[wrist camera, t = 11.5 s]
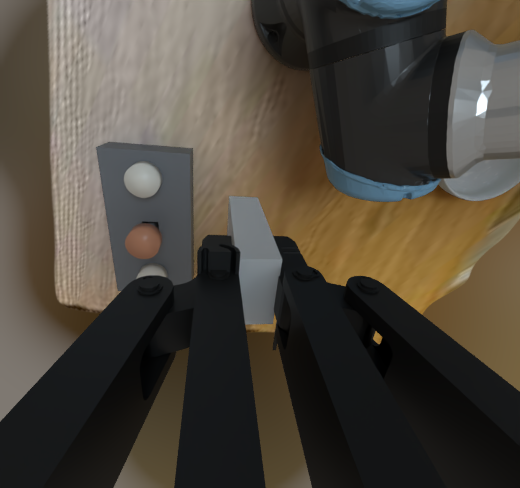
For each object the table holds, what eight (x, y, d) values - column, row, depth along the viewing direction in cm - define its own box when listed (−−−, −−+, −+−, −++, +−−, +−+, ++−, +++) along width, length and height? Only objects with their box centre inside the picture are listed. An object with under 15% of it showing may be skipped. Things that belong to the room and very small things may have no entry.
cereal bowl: (526, 90, 47) (574, 89, 40) (485, 190, 54) (520, 202, 48) (432, 83, 44) (467, 80, 38) (402, 188, 52) (427, 201, 45)
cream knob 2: (171, 248, 51) (164, 271, 44) (172, 270, 53) (166, 294, 46) (145, 248, 50) (134, 270, 43) (147, 269, 52) (137, 294, 45)
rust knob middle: (166, 211, 45) (158, 230, 38) (168, 236, 47) (160, 259, 40) (137, 210, 44) (123, 229, 38) (139, 235, 46) (126, 258, 39)
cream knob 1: (167, 155, 44) (158, 165, 37) (168, 184, 45) (160, 198, 39) (136, 153, 43) (121, 163, 36) (139, 182, 45) (125, 197, 38)
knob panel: (192, 148, 44) (190, 154, 40) (193, 275, 54) (191, 290, 50) (108, 141, 42) (96, 147, 38) (126, 274, 52) (117, 290, 48)
